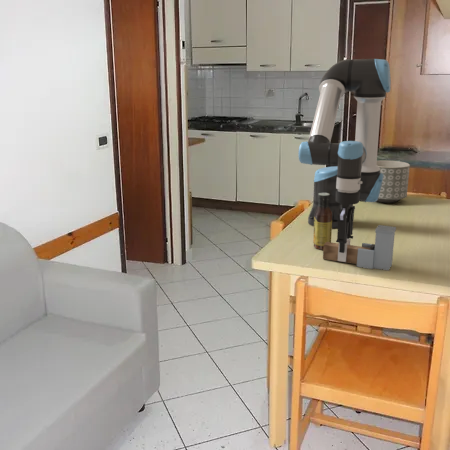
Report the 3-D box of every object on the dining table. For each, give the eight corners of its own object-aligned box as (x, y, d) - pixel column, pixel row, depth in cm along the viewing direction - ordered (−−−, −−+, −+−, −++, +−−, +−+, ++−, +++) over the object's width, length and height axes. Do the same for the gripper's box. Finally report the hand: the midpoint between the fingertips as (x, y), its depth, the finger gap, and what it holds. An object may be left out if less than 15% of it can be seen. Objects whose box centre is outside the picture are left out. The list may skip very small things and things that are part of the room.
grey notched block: (356, 266, 171) (359, 228, 168) (361, 259, 178) (364, 222, 174) (389, 271, 167) (392, 232, 163) (392, 264, 173) (396, 226, 170)
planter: (357, 197, 262) (360, 161, 257) (390, 195, 267) (394, 159, 262) (379, 207, 245) (382, 168, 239) (414, 204, 250) (418, 165, 245)
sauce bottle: (318, 243, 194) (321, 190, 188) (334, 247, 190) (337, 193, 185) (309, 248, 189) (311, 193, 183) (325, 251, 185) (327, 196, 180)
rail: (322, 258, 178) (323, 240, 176) (325, 255, 181) (326, 237, 179) (371, 266, 171) (372, 247, 169) (373, 262, 174) (375, 244, 172)
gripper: (353, 196, 161) (348, 268, 168) (365, 186, 175) (360, 253, 182) (329, 194, 164) (325, 265, 171) (342, 184, 179) (338, 250, 185)
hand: (343, 259), depth 176 cm, fingers closed on rail, 3 cm apart
